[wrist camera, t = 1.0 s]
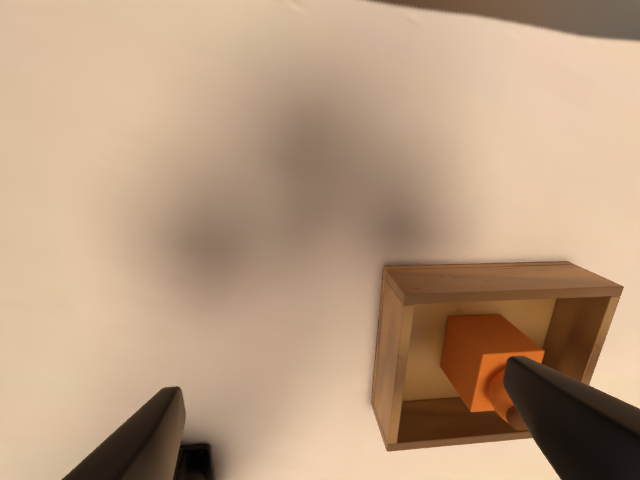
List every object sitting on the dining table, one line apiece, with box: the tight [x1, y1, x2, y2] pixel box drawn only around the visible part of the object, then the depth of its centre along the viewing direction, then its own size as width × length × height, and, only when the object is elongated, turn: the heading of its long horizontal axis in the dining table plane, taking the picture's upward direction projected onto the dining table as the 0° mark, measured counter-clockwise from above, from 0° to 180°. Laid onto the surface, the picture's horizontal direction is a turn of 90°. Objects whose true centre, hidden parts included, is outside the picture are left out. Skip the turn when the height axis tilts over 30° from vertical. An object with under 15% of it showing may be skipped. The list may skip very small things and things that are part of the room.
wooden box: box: [371, 262, 624, 451], centre depth 23 cm, size 12×14×4 cm
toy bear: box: [440, 314, 545, 431], centre depth 21 cm, size 5×4×8 cm
